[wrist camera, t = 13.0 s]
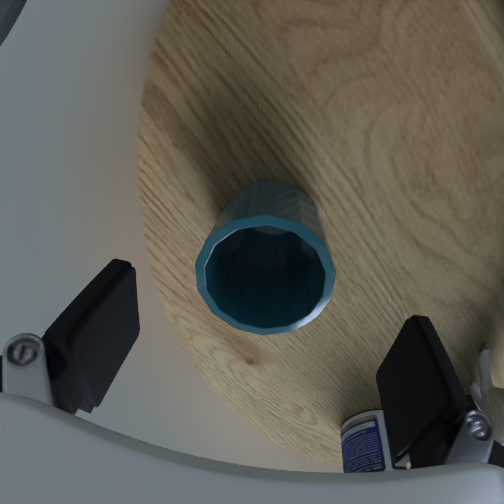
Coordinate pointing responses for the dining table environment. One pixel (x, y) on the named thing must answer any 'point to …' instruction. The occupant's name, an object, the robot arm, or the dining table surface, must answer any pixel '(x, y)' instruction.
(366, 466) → the pill bottle
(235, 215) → the creamer cup
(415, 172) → the dining table surface
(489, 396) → the figurine
